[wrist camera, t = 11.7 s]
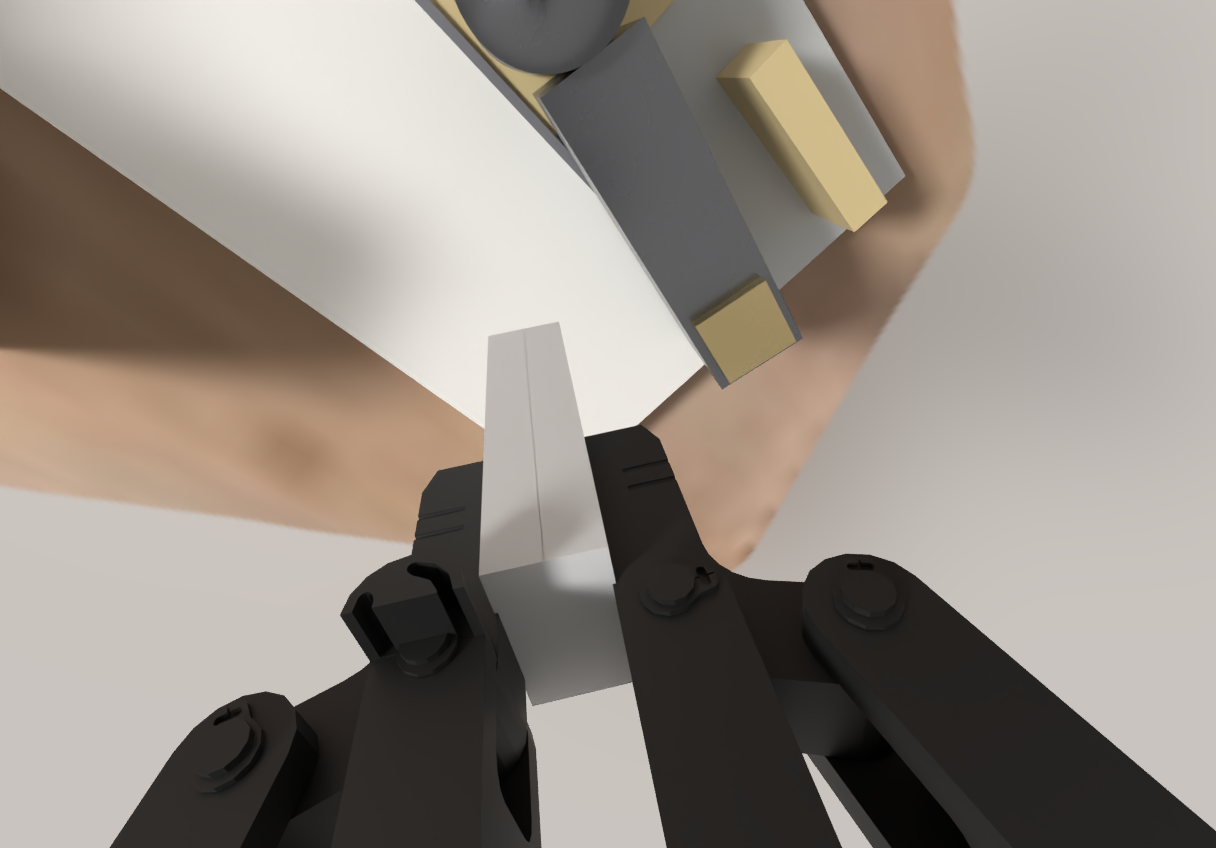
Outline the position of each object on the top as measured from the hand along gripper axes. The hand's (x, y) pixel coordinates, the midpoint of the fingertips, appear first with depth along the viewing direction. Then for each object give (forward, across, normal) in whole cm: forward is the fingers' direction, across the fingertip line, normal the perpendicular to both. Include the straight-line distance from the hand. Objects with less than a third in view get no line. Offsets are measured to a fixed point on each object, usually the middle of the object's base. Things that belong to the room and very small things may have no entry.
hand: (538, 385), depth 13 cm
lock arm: (+9, +4, +3) cm, 10 cm away
